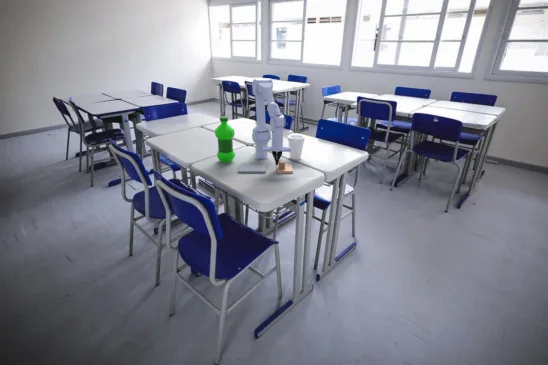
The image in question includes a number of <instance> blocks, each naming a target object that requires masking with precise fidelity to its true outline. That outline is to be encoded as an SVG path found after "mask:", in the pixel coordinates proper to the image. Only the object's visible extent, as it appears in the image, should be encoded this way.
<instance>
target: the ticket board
mask: <svg viewBox="0 0 548 365" xmlns="http://www.w3.org/2000/svg"><path fill="white" fill-rule="evenodd" d="M237 173H238V174H266V164H265V163H239V165H238V170H237Z"/></svg>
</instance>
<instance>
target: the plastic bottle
mask: <svg viewBox="0 0 548 365" xmlns="http://www.w3.org/2000/svg"><path fill="white" fill-rule="evenodd" d="M219 121H220V124H219V125H218V126H217V127H216V128H215V130H214V135H215V137H216V139H217V146H218V147H217V149H218V150H217V153H216V156H217V159H218V161H219V162H221V163H223V164H229V163H231V162H232V161H233V160H234V158H235V157H236V153H235V152H234V147H233V138H234V137H235V135H236V134H235V133H236V132H235V130H234V128H233V127H232V126H231V125H229V123H228V121H229V116H220V117H219Z"/></svg>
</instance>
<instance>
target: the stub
mask: <svg viewBox="0 0 548 365" xmlns="http://www.w3.org/2000/svg"><path fill="white" fill-rule="evenodd" d="M275 166H276V173H277V174H293V173H294V170H293V166H292V163H286V161H285V159H284V158H283V159H281V158H280V159H279V162H278V165H276V164H275Z"/></svg>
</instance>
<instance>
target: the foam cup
mask: <svg viewBox="0 0 548 365" xmlns="http://www.w3.org/2000/svg"><path fill="white" fill-rule="evenodd" d="M287 141H288V147H291V152H288V153H289V158H290V159H291V160H300V159H301V158H302V152H303V147H304V142H305V136H304V135H302V134H297V133H295V134H293V133H292V134H289V135H288V136H287Z"/></svg>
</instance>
